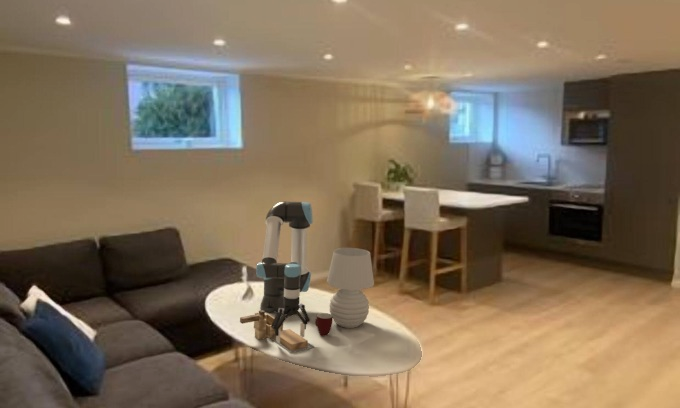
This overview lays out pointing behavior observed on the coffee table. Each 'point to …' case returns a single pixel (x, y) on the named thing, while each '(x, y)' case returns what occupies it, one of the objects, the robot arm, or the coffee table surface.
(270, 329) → the open wooden box
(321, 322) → the mug
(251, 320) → the key
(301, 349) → the mat
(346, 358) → the coffee table surface
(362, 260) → the table lamp
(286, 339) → the lid
